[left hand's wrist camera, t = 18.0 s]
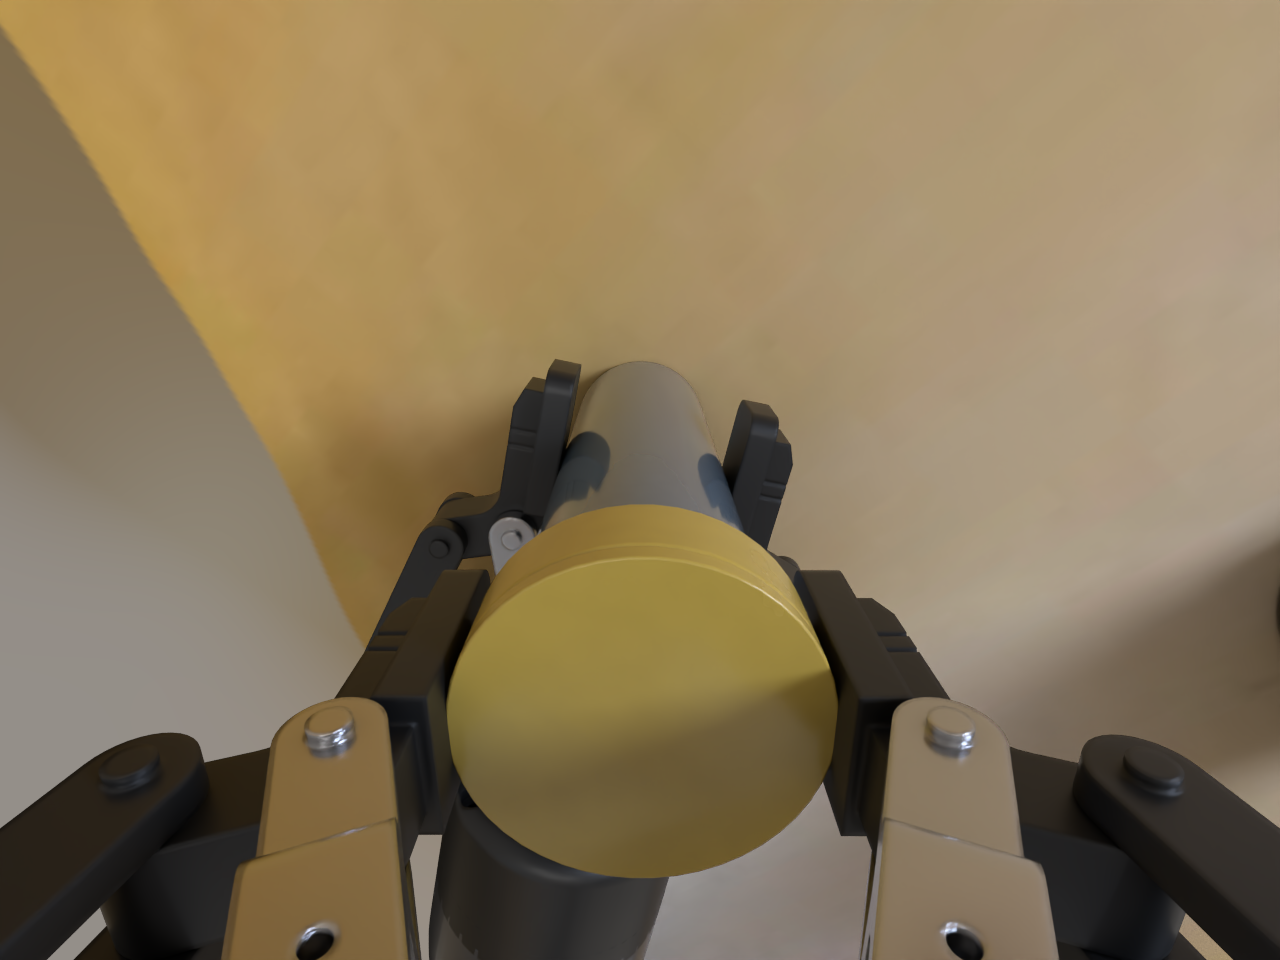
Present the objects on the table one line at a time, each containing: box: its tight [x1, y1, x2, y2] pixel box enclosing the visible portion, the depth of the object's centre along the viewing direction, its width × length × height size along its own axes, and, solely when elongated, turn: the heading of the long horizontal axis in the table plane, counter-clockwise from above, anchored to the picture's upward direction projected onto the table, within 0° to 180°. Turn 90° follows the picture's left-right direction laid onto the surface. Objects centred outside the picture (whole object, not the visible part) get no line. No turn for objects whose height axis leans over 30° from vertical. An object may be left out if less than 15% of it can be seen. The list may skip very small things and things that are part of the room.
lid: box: [446, 505, 838, 878], centre depth 10 cm, size 5×5×2 cm
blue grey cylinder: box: [538, 362, 745, 535], centre depth 17 cm, size 4×4×15 cm
